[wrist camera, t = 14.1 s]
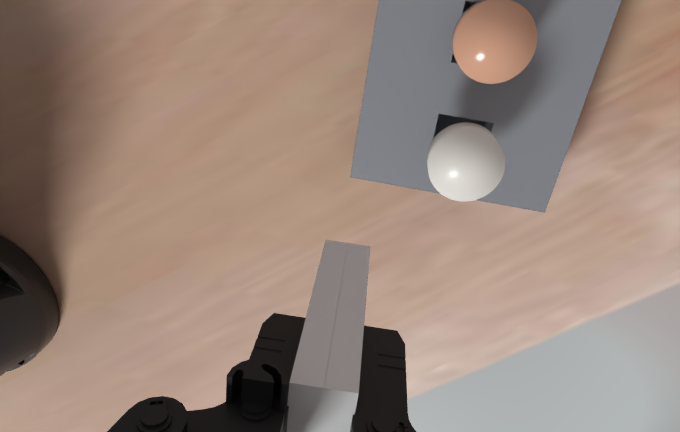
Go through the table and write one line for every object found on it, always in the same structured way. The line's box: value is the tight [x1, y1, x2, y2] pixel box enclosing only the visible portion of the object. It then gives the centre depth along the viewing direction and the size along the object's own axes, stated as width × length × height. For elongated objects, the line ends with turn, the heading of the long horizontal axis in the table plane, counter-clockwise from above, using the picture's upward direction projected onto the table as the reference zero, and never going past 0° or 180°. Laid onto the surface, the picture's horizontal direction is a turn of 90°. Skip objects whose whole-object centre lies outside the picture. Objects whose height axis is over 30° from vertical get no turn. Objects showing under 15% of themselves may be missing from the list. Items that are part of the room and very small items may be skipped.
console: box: [350, 0, 621, 212], centre depth 30 cm, size 13×20×4 cm, turn 172°
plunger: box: [427, 122, 505, 201], centre depth 30 cm, size 4×4×5 cm
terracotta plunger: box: [452, 0, 537, 84], centre depth 28 cm, size 4×4×5 cm
